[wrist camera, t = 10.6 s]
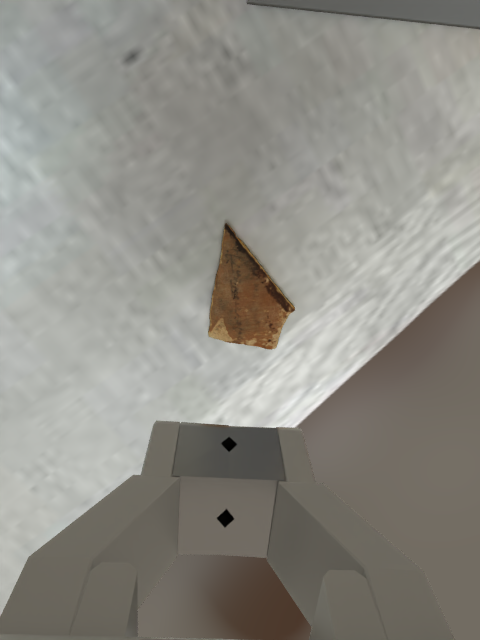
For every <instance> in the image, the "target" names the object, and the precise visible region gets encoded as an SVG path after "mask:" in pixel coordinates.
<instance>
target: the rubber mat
mask: <svg viewBox="0 0 480 640" xmlns="http://www.w3.org/2000/svg"><path fill="white" fill-rule="evenodd" d="M247 4H254V5H263V6H272V7H282V8H291V9H300V10H309V11H319V12H328V13H337V14H347V15H356V16H365V17H374V18H384V19H393V20H402V21H411V22H421V23H430V24H439V25H448V26H458V27H467V28H476V29H480V0H248V2H247Z"/></svg>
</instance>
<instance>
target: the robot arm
mask: <svg viewBox="0 0 480 640" xmlns="http://www.w3.org/2000/svg"><path fill="white" fill-rule="evenodd" d="M177 555H232V556H247V557H262V558H267V561H268V563H269V564H270V566H271V567H272V569H274V571H275V573H276V574H277V576H278V577H279V579H280V580H281V582H282V583H283V585H284V586H285V588H286V589H287V591H288V592H289V594H290V595H291V597H292V598H293V600H294V601H295V603H296V604H297V606H298V607H299V609H300V610H301V612H302V613H303V615H304V616H305V618H306V619H307V621H308V622H309V624H310V625H311V627H312V629H311V634H310V639H309V640H455V639H454V636H453V634H452V632H451V630H450V627H449V625H448V623H447V621H446V619H445V616H444V614H443V612H442V610H441V608H440V605H439V603H438V601H437V599H436V596H435V594H434V592H433V590H432V588H431V585H430V583H429V581H428V579H427V577H426V574H425V572H424V571H423V570H422V569H421V568H420V567H419V566H417V565H416V564H415V563H414V562H413V561H412V560H410V559H409V558H408V557H407V556H406V555H405V554H403V553H402V552H401V551H400V550H399V549H398V548H397V547H396V546H394V545H393V544H392V543H391V542H390V541H388V539H386V538H385V537H384V536H383V535H382V534H381V533H380V532H378V531H377V530H376V529H375V528H374V527H373V526H372V525H370V524H369V523H368V522H367V521H366V520H365V519H363V518H362V517H361V516H360V515H359V514H358V513H357V512H355V511H354V510H353V509H352V508H351V507H350V506H349V505H347V504H346V503H345V502H344V501H343V500H342V499H340V498H339V497H338V496H337V495H336V494H335V493H334V492H333V491H331V490H330V489H329V488H328V487H327V486H326V485H324V484H323V483H316V481H315V477H314V473H313V470H312V466H311V462H310V459H309V454H308V451H307V447H306V443H305V439H304V436H303V432H302V430H301V429H300V428H285V427H276V428H264V427H240V426H229V425H215V424H201V423H188V422H181V423H180V422H172V421H156V422H155V423H154V425H153V429H152V432H151V436H150V440H149V444H148V448H147V452H146V456H145V460H144V464H143V468H142V472H141V475H132V476H131V477H130V478H129V479H127V480H126V481H125V482H124V483H122V484H121V485H120V486H118V487H117V488H116V489H115V490H113V491H112V492H111V493H110V494H108V495H107V496H106V497H104V498H103V499H102V500H101V501H99V502H98V503H97V504H96V505H94V506H93V507H92V508H90V509H89V510H88V511H87V512H85V513H84V514H83V515H82V516H80V517H79V518H78V519H76V520H75V521H74V522H73V523H71V524H70V525H69V526H68V527H66V528H65V529H64V530H62V531H61V532H60V533H59V534H57V535H56V536H55V537H54V538H52V539H51V540H50V541H48V542H47V543H46V544H45V545H43V546H42V547H41V548H40V549H38V550H37V551H36V552H34V553H33V554H32V555H31V556H29V558H28V560H27V562H26V564H25V566H24V568H23V570H22V572H21V574H20V577H19V579H18V581H17V583H16V585H15V587H14V589H13V591H12V593H11V595H10V598H9V600H8V602H7V604H6V606H5V608H4V610H3V612H2V614H1V617H0V640H231V639H192V638H151V637H138V609H139V607H140V606H141V605H142V603H143V602H144V601H145V599H146V598H147V597H148V595H149V594H150V593H151V591H152V590H153V589H154V587H155V586H156V585H157V583H158V582H159V581H160V579H161V578H162V577H163V575H164V574H165V573H166V571H167V570H168V569H169V567H170V566H171V565H172V563H173V562H174V561H175V559H176V558H177ZM232 640H234V639H232ZM235 640H236V639H235Z"/></svg>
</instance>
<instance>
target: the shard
mask: <svg viewBox="0 0 480 640" xmlns="http://www.w3.org/2000/svg"><path fill="white" fill-rule="evenodd" d="M294 310H295V307H294V306H293V305H292V304H291V303H290V302H289V301H288V299H286V297H285V296H284V295H283V293H282V292H281V291H280V289H279V288H278V287H277V286H276V284H274V283H273V281H272V280H271V279H270V277H269V276H268V275H267V273H266V272H265V271H264V269H263V267H262V266H261V265H260V264H259V262H258V261H257V260H256V259H255V257H254V256H253V255H252V254H251V253H250V251H249V250H248V248H247V247H246V245H244V243H243V242H242V241H241V240H240V239H239V238H237V237H236V235H235V232H234V231H233V230H232V229H231V227H230V226H229V225H228V224H227V223H226V224H225V228H224V235H223V241H222V251H221V257H220V264H219V269H218V272H217V275H216V280H215V287H214V291H213V294H212V304H211V309H210V317H209V319H210V327H209V331H208V334H209V337H212V338H214V339H219V340H222V341H225V342H229V343H237V344H245V345H250V346H257V347H261V348H265V349H275V348H276V347H277V344H278V338H279V336H280V333H281V329H282V327H283V325H284V323H285V321H286V319H287V318H288V316H289V314H290V313H292V312H293V311H294Z"/></svg>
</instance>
